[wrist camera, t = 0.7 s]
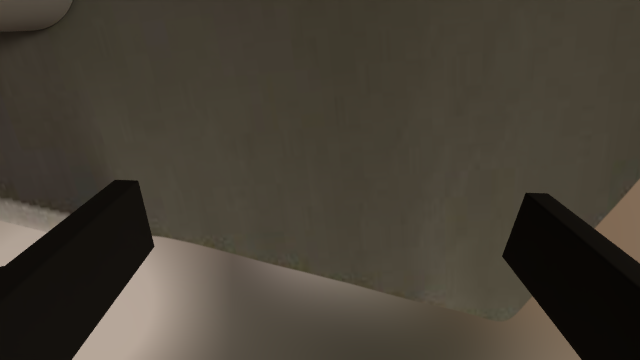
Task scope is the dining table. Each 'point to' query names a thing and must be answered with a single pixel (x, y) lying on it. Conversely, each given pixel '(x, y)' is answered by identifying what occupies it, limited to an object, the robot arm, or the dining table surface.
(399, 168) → the dining table surface
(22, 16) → the cylinder vase
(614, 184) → the dining table surface
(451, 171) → the dining table surface
